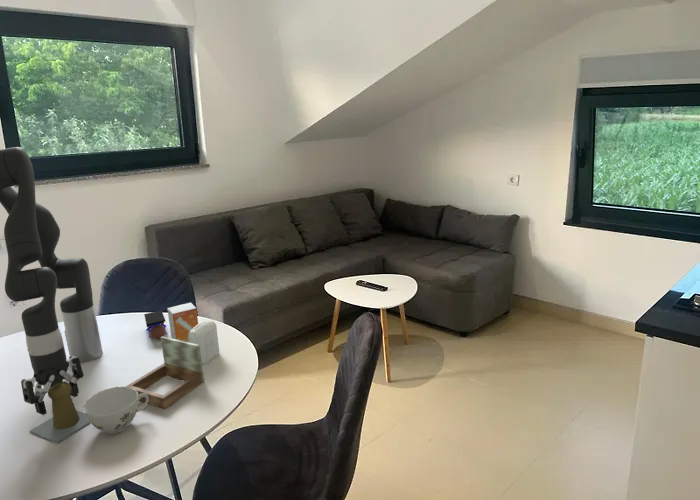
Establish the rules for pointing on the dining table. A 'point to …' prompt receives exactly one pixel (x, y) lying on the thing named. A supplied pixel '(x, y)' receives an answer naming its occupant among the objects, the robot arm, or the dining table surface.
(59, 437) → the mat
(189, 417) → the dining table surface
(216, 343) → the photo printer
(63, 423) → the cork
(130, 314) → the dining table surface
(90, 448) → the dining table surface
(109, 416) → the teacup
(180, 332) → the small box
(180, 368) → the cold frame
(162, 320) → the figurine character
